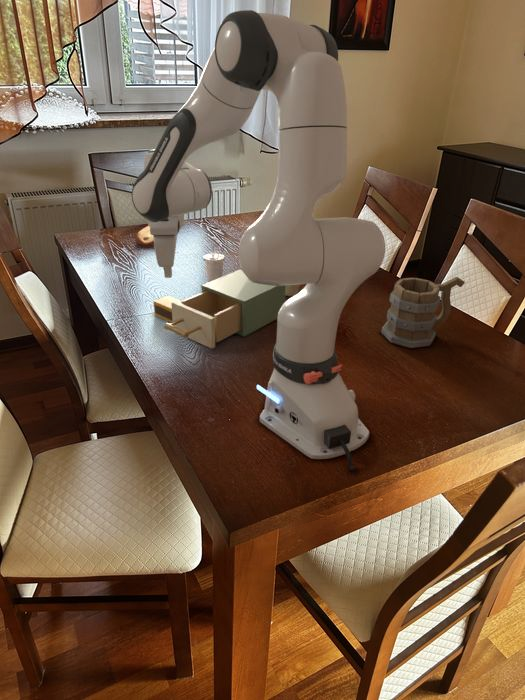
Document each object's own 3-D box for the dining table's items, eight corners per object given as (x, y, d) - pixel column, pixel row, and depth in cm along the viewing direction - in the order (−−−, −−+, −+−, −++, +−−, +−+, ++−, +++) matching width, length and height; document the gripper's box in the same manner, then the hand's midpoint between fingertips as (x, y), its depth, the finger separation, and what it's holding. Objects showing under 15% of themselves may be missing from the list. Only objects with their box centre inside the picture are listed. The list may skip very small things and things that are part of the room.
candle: (297, 297, 155) (299, 265, 150) (278, 295, 156) (280, 263, 151) (299, 289, 159) (301, 258, 154) (281, 287, 160) (283, 256, 155)
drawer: (195, 357, 122) (193, 327, 118) (156, 338, 129) (153, 309, 125) (254, 326, 136) (254, 298, 132) (215, 310, 143) (215, 284, 139)
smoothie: (199, 288, 158) (198, 243, 151) (211, 281, 163) (210, 237, 156) (217, 292, 156) (217, 247, 149) (229, 285, 161) (228, 241, 154)
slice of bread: (162, 227, 209) (161, 218, 207) (186, 239, 197) (186, 229, 195) (120, 235, 199) (119, 226, 197) (144, 248, 187) (143, 238, 185)
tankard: (397, 350, 129) (407, 294, 121) (374, 326, 139) (382, 274, 132) (468, 341, 134) (482, 287, 126) (440, 319, 144) (452, 268, 137)
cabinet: (243, 336, 133) (244, 301, 128) (202, 318, 141) (201, 285, 136) (284, 315, 144) (285, 281, 139) (243, 299, 152) (243, 267, 147)
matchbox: (190, 318, 141) (190, 303, 139) (175, 325, 137) (174, 310, 135) (169, 308, 146) (168, 294, 144) (154, 315, 142) (152, 301, 140)
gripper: (156, 206, 137) (159, 256, 144) (149, 230, 119) (153, 286, 126) (180, 206, 137) (183, 256, 144) (177, 230, 120) (180, 286, 127)
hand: (169, 271), depth 135 cm, fingers open, 6 cm apart
